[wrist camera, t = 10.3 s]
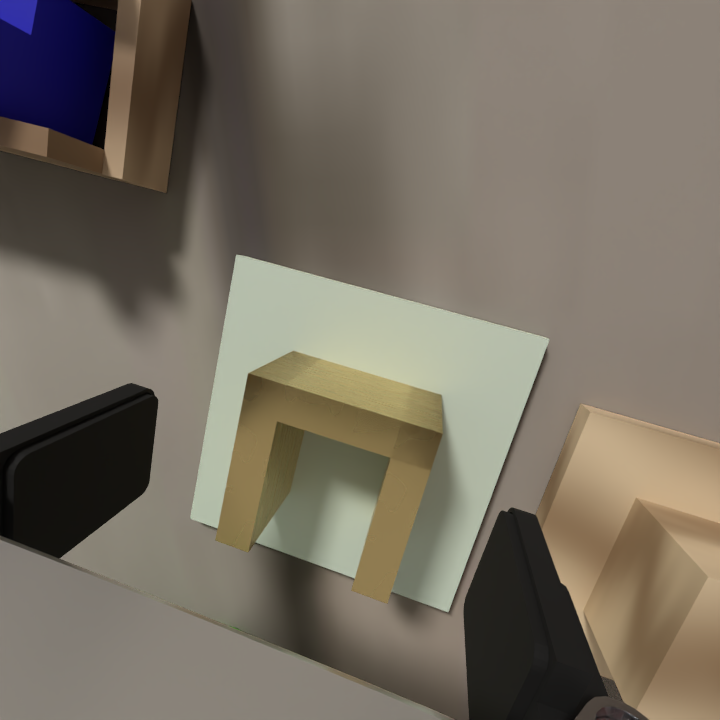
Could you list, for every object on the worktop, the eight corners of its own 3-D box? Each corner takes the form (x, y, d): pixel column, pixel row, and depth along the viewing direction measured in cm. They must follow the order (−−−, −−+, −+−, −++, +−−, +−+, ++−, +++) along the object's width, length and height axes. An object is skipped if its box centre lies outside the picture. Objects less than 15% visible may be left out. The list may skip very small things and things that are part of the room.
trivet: (243, 255, 16) (236, 254, 16) (545, 337, 15) (549, 339, 14) (197, 511, 19) (190, 518, 19) (447, 601, 18) (448, 612, 17)
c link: (293, 350, 16) (248, 373, 12) (441, 394, 15) (442, 433, 12) (263, 483, 18) (215, 540, 14) (398, 529, 17) (387, 603, 13)
